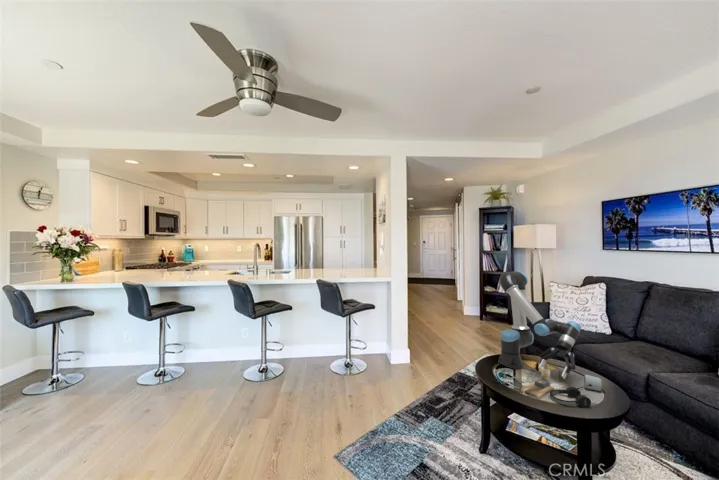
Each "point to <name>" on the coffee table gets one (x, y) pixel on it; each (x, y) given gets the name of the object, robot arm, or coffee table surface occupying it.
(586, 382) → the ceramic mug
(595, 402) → the coffee table surface
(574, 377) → the coffee table surface
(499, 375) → the sunglasses
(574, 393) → the headset
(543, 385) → the block
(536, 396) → the plywood panel
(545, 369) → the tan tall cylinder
